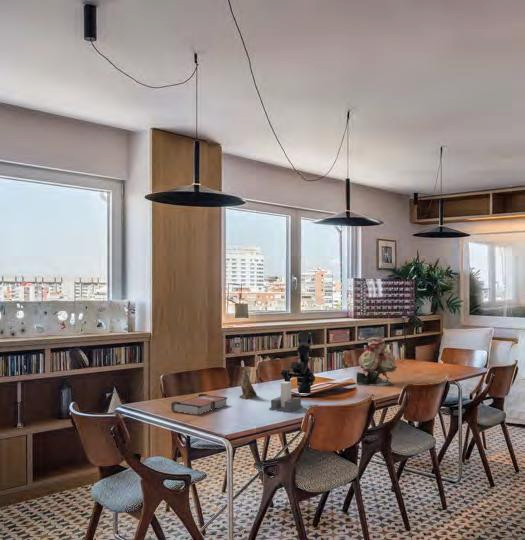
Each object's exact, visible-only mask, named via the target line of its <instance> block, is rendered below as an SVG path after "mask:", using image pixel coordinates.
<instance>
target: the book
mask: <svg viewBox="0 0 525 540" xmlns="http://www.w3.org/2000/svg"><path fill="white" fill-rule="evenodd" d="M227 400H228V397H225V396H216V395H210V394H209V395H208V394H207V393H199V394H198V396H196V397H193V398H188V399H185V400H182V401H177V400H176V401H173V402H171V403H170V404H171V408H170V409H171V410H172V411H180V412H186V413H193V414H200V413H202V412H205V411H208V410H211V409H212V411H215V410H216V409H215V408H218V407H220V408H222V407H221V406H223V407H226V406H228V404H227ZM225 405H226V406H225ZM214 409H215V410H214ZM218 409H219V408H218ZM200 415H201V414H200Z"/></svg>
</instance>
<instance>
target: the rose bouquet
mask: <svg viewBox="0 0 525 540" xmlns="http://www.w3.org/2000/svg"><path fill="white" fill-rule="evenodd" d="M365 341H367V345H366V344H364V345H363V350H364V352H362V353H361V355H360V356H358V357H357V356H356V359H358V362H357V363H358V366H360V369H362V372H359V371H358V372H356V384H357V386H361V387H362V386H364V387H368V386H372V387H373V386H374V387H383V386H388V385H391V386H396V383H395V384H394V383H392V381H389V380H390V377H388V376H387V373H394V372H395V371H397V368H398V366H397V365H396V356H394V355H393V354H392V353H391V352H389V351H385V347H386V346H385V343H386V341H384V340H383V337H381V336H371V337H369V338H367V339H365ZM366 373H367V374H366ZM380 375H383V376H384V377H385V378H386V380H385V379H383V378H382V377H380Z"/></svg>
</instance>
